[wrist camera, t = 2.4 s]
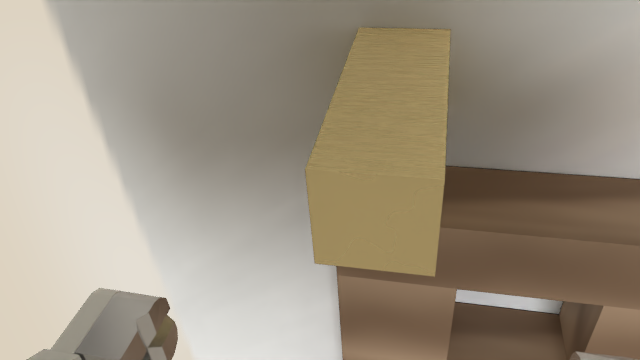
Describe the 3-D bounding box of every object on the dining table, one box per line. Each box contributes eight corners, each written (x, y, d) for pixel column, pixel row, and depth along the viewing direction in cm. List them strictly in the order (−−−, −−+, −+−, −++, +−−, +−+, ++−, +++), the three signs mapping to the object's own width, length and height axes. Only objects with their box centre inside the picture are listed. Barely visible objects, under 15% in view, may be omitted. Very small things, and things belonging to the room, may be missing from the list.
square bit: (359, 27, 18) (304, 169, 12) (450, 29, 17) (444, 179, 11) (360, 105, 19) (314, 263, 13) (443, 109, 19) (434, 276, 13)
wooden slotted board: (349, 159, 21) (333, 217, 18) (746, 186, 18) (794, 260, 16) (358, 397, 32) (349, 455, 30) (607, 437, 29) (621, 505, 27)
